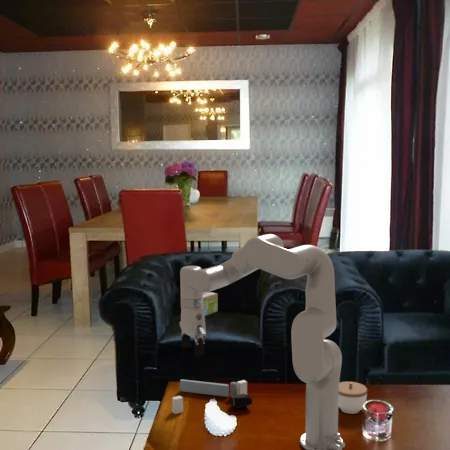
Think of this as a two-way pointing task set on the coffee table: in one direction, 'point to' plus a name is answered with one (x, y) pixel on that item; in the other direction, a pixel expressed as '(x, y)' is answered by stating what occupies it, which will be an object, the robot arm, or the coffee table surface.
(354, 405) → the lidded jar
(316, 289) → the robot arm
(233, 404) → the tape measure
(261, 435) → the coffee table surface
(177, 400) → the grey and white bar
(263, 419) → the coffee table surface
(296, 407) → the coffee table surface
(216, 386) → the long grey bar
